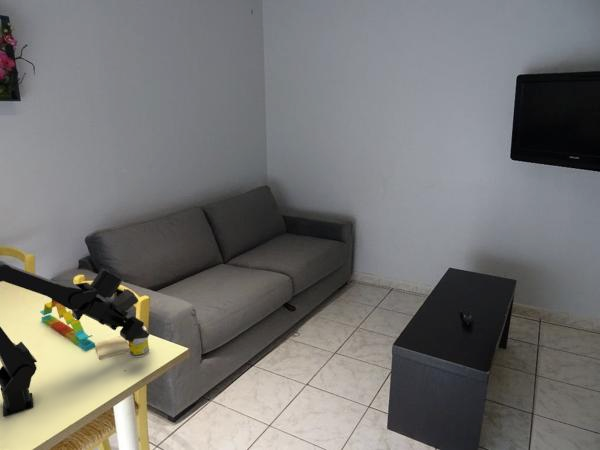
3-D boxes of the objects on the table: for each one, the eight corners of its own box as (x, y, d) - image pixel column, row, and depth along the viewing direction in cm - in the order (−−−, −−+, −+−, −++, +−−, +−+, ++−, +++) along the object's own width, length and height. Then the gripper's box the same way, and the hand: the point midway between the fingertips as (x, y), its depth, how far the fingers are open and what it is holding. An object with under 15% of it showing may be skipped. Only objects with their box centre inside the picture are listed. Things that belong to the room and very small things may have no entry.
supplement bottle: (130, 349, 139) (126, 320, 136) (149, 346, 141) (145, 317, 138) (129, 359, 134) (125, 329, 131) (149, 356, 136) (145, 326, 133)
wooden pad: (130, 350, 139) (130, 347, 138) (99, 359, 134) (99, 356, 134) (124, 337, 146) (124, 334, 146) (94, 345, 141) (94, 342, 141)
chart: (96, 347, 141) (89, 304, 137) (86, 352, 138) (79, 308, 134) (51, 318, 159) (44, 279, 154) (42, 322, 156) (34, 282, 152)
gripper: (133, 295, 122) (172, 317, 132) (103, 276, 134) (142, 298, 145) (108, 332, 118) (150, 351, 129) (80, 309, 131) (121, 329, 142)
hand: (141, 330), depth 136 cm, fingers open, 8 cm apart
